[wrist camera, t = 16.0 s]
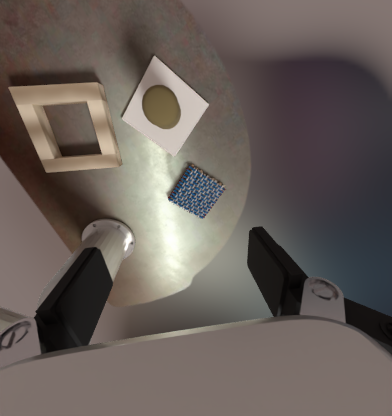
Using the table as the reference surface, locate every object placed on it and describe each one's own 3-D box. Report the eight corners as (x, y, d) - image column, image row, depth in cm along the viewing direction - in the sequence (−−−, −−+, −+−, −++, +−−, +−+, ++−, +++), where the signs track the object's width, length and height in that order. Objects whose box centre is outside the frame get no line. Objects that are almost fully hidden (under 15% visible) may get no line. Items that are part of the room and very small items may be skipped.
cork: (142, 102, 32) (126, 91, 22) (171, 87, 31) (168, 68, 21) (159, 134, 34) (151, 137, 25) (186, 120, 34) (189, 118, 24)
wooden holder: (122, 164, 37) (118, 166, 34) (54, 169, 36) (46, 172, 34) (103, 85, 31) (97, 82, 28) (21, 90, 30) (8, 87, 28)
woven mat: (202, 218, 45) (203, 222, 43) (166, 198, 42) (166, 201, 40) (226, 185, 42) (228, 188, 40) (190, 161, 38) (190, 163, 37)
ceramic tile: (174, 156, 37) (174, 156, 37) (122, 119, 33) (121, 119, 33) (208, 104, 34) (209, 104, 33) (154, 56, 30) (154, 55, 29)
